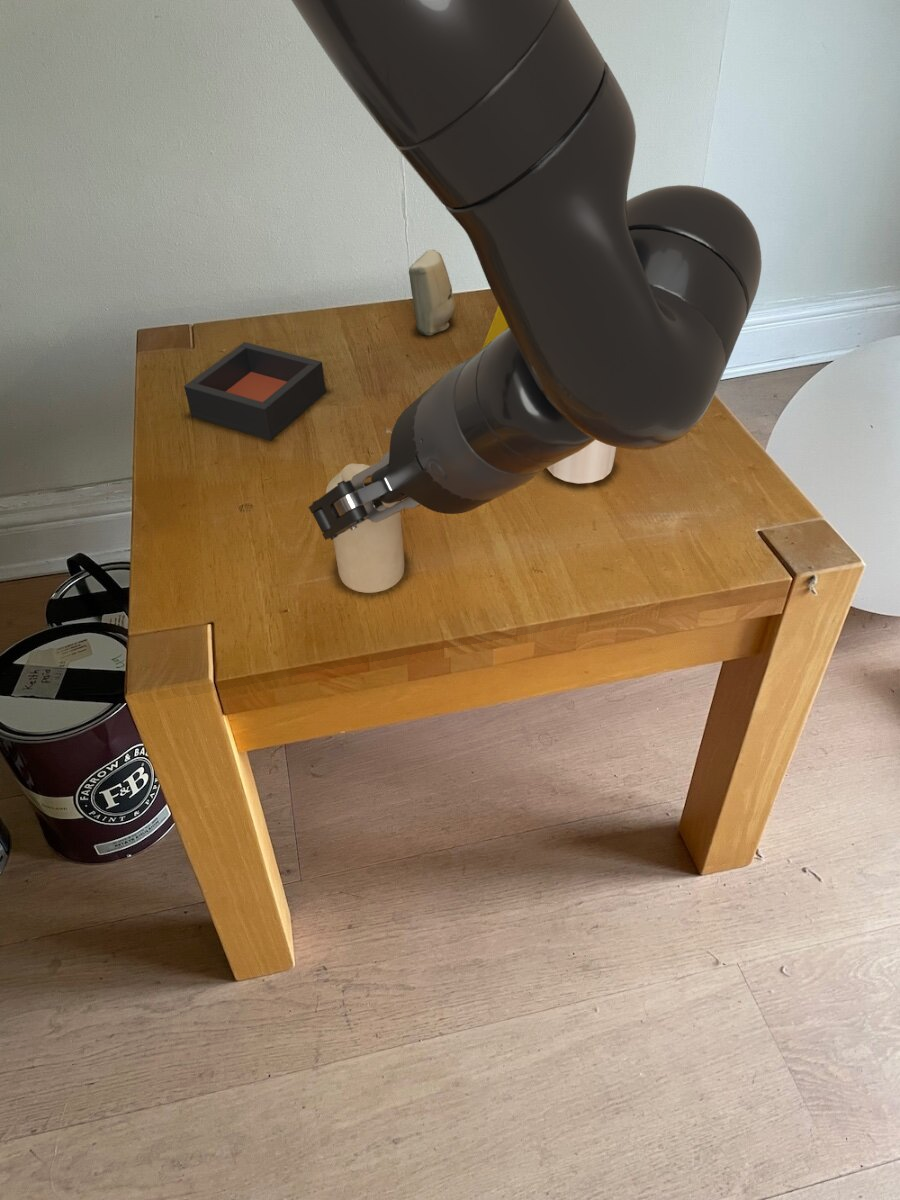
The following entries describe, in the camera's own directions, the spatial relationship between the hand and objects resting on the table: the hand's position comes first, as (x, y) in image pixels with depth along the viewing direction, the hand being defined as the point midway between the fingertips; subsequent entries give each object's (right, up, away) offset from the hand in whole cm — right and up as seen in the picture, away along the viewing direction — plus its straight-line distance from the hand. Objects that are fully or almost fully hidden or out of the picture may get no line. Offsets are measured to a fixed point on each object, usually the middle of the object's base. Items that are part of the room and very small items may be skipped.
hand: (381, 498), depth 66 cm
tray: (-15, +13, +27) cm, 33 cm away
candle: (-1, -5, +8) cm, 10 cm away
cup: (+17, +5, +18) cm, 25 cm away
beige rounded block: (+3, +25, +39) cm, 46 cm away
